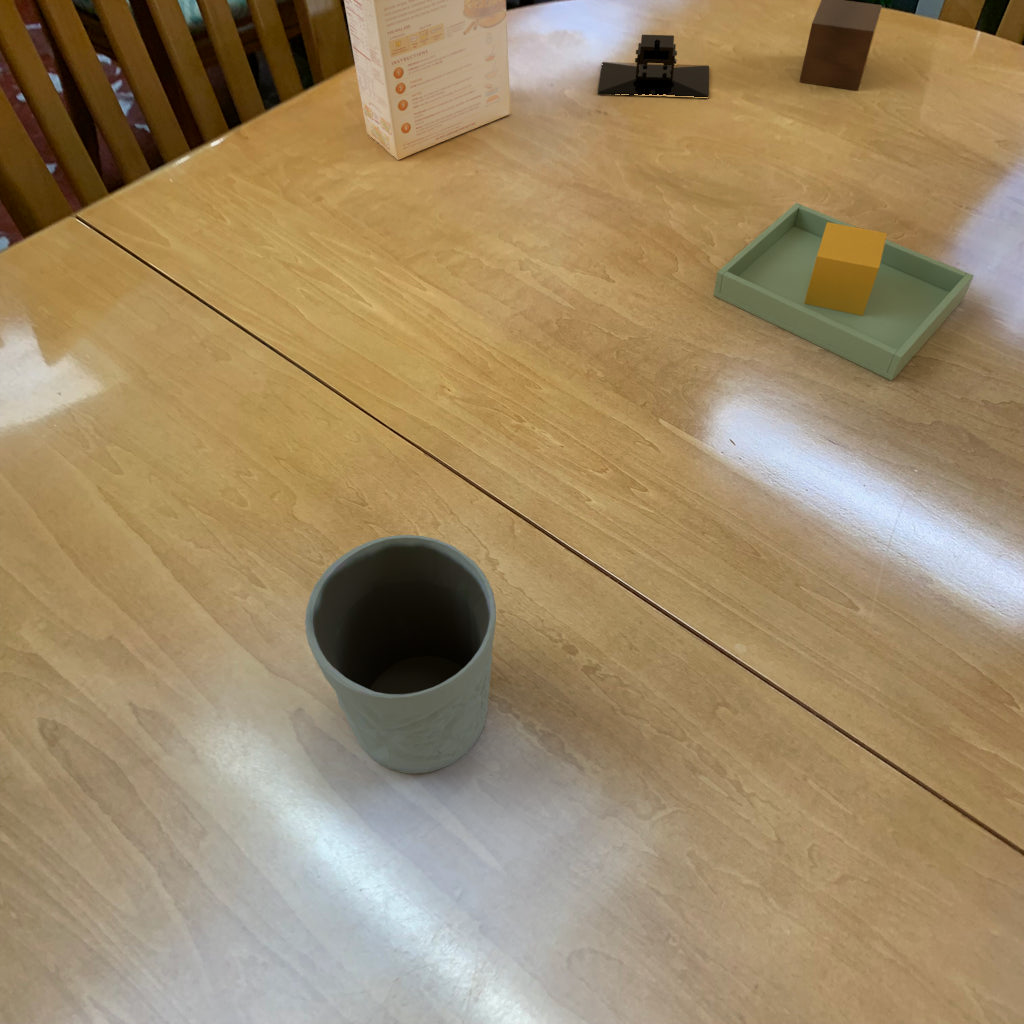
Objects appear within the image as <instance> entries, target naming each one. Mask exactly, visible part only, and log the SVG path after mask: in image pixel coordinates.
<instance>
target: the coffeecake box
mask: <svg viewBox="0 0 1024 1024" xmlns="http://www.w3.org/2000/svg"><path fill="white" fill-rule="evenodd" d="M343 2H344V8H345V9H344V10H345V13H346V14H345V15H346V20H347V25H348V32H349V37H350V43H351V49H352V50H351V51H352V55H353V60H354V66H355V73H356V79H357V84H358V90H359V96H360V101H361V107H362V114H363V118H364V125H365V129H366V134H367V133H368V134H369V135H370V136H371V137H372V138H373V139H375V140H376V141H377V142H378V143H379V144H378V143H377V142H376V141H375V142H376V143H377V144H378V145H380V146H382V148H383V149H385V151H387V153H388V154H390V155H391V157H393V156H394V157H393V158H394V159H395V160H397V161H399V160H401V159H404V158H407V157H409V156H411V155H413V154H416V153H419V152H420V151H423V150H425V149H428V148H430V147H433V146H436V145H437V144H441V143H443V142H445V141H447V140H450V139H453V138H455V137H458V136H460V135H463V134H466V133H467V132H470V131H472V130H474V129H477V128H481V127H482V126H484V125H487V124H489V123H493V122H494V121H496V120H500V119H502V118H505V117H506V116H510V115H511V113H512V112H511V111H512V110H511V89H510V88H511V87H510V66H509V63H510V62H509V42H508V41H509V40H508V38H509V37H508V18H507V15H508V14H507V0H343ZM370 136H369V137H370ZM371 137H370V138H371ZM372 138H371V139H372ZM373 139H372V140H373Z"/></svg>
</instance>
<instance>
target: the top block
mask: <svg viewBox="0 0 1024 1024" xmlns="http://www.w3.org/2000/svg"><path fill="white" fill-rule="evenodd" d="M887 235H888V233H887V232H883V231H877V230H871V229H866V228H861V227H857V228H856V226H855V227H851V226H845V225H840V224H835V223H829V222H827V224H826V227H825V231H824V234H823V237H822V241H821V244H820V247H819V251H818V254H817V258H816V261H815V265H814V269H813V272H812V276H811V280H810V283H809V287H808V291H807V294H806V298H805V302H804V304H808V305H813V306H818V307H823V308H827V309H832V310H837V311H842V312H847V313H851V314H856V315H861V316H863V314H864V311H865V308H866V305H867V302H868V299H869V296H870V294H871V291H872V288H873V285H874V282H875V279H876V276H877V273H878V270H879V267H880V262H881V258H882V254H883V249H884V245H885V241H886V240H887Z"/></svg>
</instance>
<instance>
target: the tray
mask: <svg viewBox="0 0 1024 1024" xmlns="http://www.w3.org/2000/svg"><path fill="white" fill-rule="evenodd" d="M827 222H829V223H835V224H840V225H845V226H851V227H856V225H855V226H854V225H852V224H849V223H847V222H844V221H842V220H839V219H838V218H835V217H833V216H831V215H828V214H825V213H822V212H820V211H817V210H815V209H813V208H812V207H811V208H810V207H809V206H806V205H803V204H801V203H798V202H795V203H794V204H793V205H792V206H791V207H789V209H787V210H786V211H785V212H784V213H783V214H782V215H781V216H779V218H777V219H776V220H775V221H773V223H771V224H770V225H769V226H768V227H767V228H765V229H764V230H763V231H762V232H761V233H760V234H759V235H757V236H756V237H755V238H754V239H753V240H751V242H750V243H749V244H748V245H746V246H745V247H744V248H742V250H741V251H740V252H738V253H737V254H736V255H734V257H733V258H731V259H730V260H729V261H728V262H726V263H725V265H723V266H722V267H721V268H720V269H719V270H718V271H717V272H716V273H717V274H716V276H715V277H716V278H715V284H714V290H713V296H714V297H716V298H718V299H720V300H721V301H725V302H726V303H729V304H731V305H733V306H734V307H737V308H739V309H741V310H743V311H745V312H747V313H749V314H751V315H753V316H756V317H758V318H760V319H762V320H764V321H766V322H768V323H769V324H772V325H774V326H776V327H778V328H781V329H783V330H784V331H787V332H789V333H791V334H793V335H795V336H797V337H799V338H802V339H803V340H805V341H807V342H809V343H812V344H814V345H816V346H819V347H821V348H823V349H825V350H827V351H828V352H831V353H833V354H835V355H837V356H839V357H841V358H843V359H845V360H848V361H849V362H851V363H853V364H856V365H857V366H860V367H862V368H864V369H866V370H868V371H870V372H872V373H874V374H876V375H879V376H881V377H883V378H885V379H886V380H889V381H893V380H895V378H896V377H897V376H898V375H899V373H900V372H901V371H903V369H904V368H905V367H906V366H907V364H908V363H909V362H910V361H911V360H912V358H914V356H915V355H917V353H918V352H919V351H920V350H921V348H922V347H923V346H924V345H925V344H926V343H927V341H928V340H929V339H930V338H931V337H932V336H933V335H934V333H935V332H936V331H937V330H938V329H939V328H940V327H941V325H942V324H944V322H945V321H946V320H947V319H948V317H950V315H951V314H952V313H953V312H954V311H955V310H956V308H957V307H958V306H959V305H960V304H961V303H962V301H963V300H964V299H965V297H966V294H967V292H968V290H969V288H970V285H971V283H972V281H973V279H974V276H975V275H974V274H973V273H972V274H971V273H969V272H967V271H965V270H961V269H959V268H957V267H954V266H953V265H949V264H947V263H945V262H942V261H940V260H937V259H935V258H932V257H930V256H927V255H925V254H923V253H920V252H917V251H915V250H913V249H910V248H908V247H906V246H903V245H901V244H898V243H896V242H894V241H891V240H888V239H886V241H885V245H884V249H883V254H882V258H881V262H880V267H879V270H878V273H877V276H876V279H875V282H874V285H873V288H872V291H871V294H870V296H869V299H868V302H867V305H866V308H865V311H864V314H863V316H861V315H856V314H851V313H847V312H842V311H837V310H832V309H827V308H823V307H818V306H813V305H808V304H804V302H805V298H806V294H807V291H808V287H809V283H810V280H811V276H812V272H813V269H814V265H815V261H816V258H817V254H818V251H819V247H820V244H821V241H822V237H823V234H824V231H825V227H826V224H827ZM856 228H858V226H857V227H856Z"/></svg>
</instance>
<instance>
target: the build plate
mask: <svg viewBox="0 0 1024 1024" xmlns="http://www.w3.org/2000/svg"><path fill="white" fill-rule="evenodd" d="M676 45H677V44H676V43H675V35H670V34H641V38H640V42H638V46H637V49H636V50H635V55H637V56H636V57H635V58H634V62H620V61H619V62H616V61H615V62H614V61H603V62H601V66H600V73H599V80H598V86H597V95H598V94H611V95H610V96H615V94H620V95H621V94H629V95H634V94H638V95H642V94H645V95H649V94H652V95H657V94H659V95H663V94H666V95H675V96H694V97H708V96H709V97H710V65H708V64H706V65H705V64H677V62H678V60H677V58H676V56H678V51H677V50H676V47H677V46H676ZM602 64H603V65H602ZM675 64H677V65H675ZM601 67H602V68H601Z"/></svg>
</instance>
